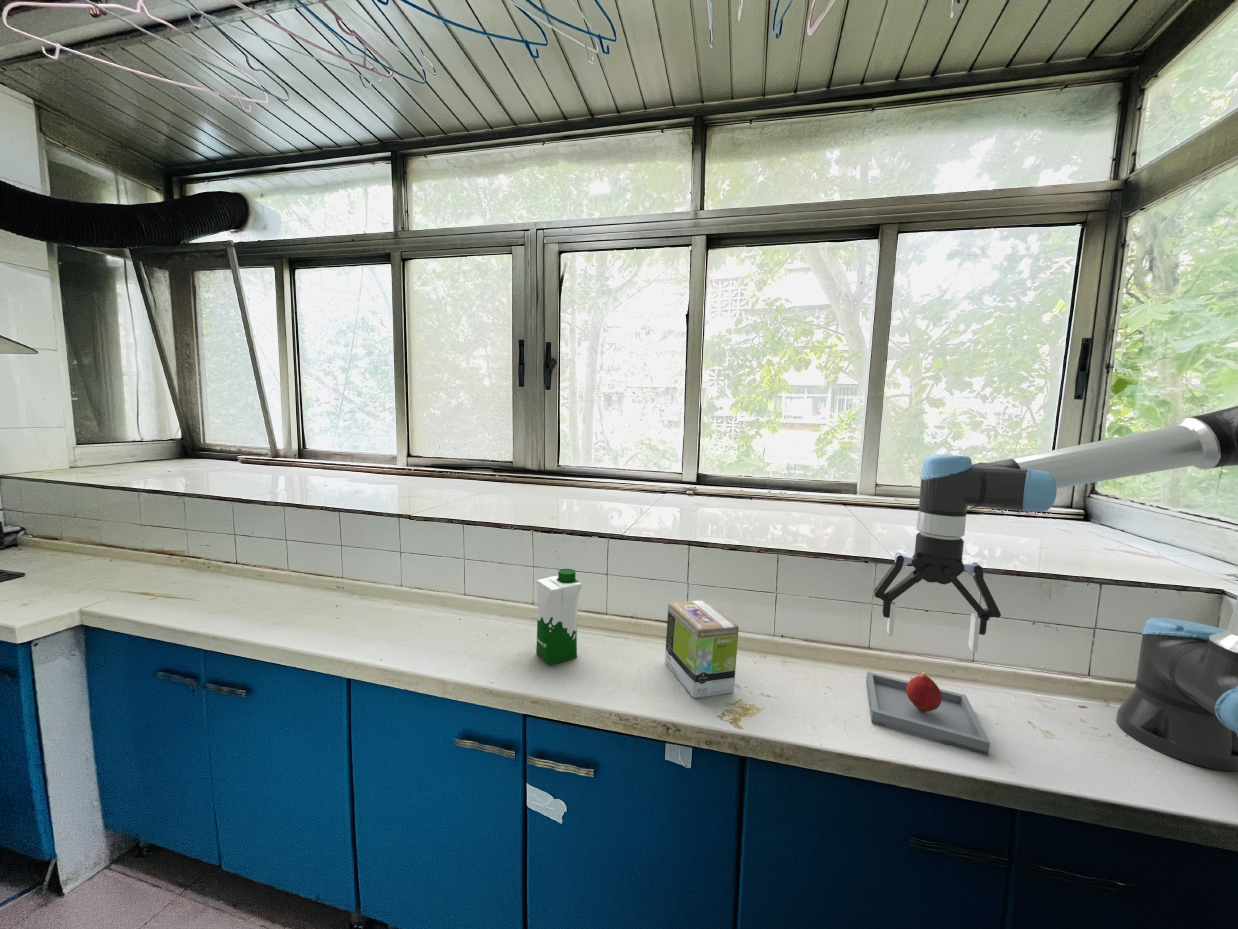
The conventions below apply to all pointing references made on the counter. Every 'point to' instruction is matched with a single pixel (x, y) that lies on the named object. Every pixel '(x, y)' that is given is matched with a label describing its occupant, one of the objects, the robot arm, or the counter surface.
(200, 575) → the counter surface
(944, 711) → the tray
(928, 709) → the onion
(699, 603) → the tea box
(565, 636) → the milk carton
